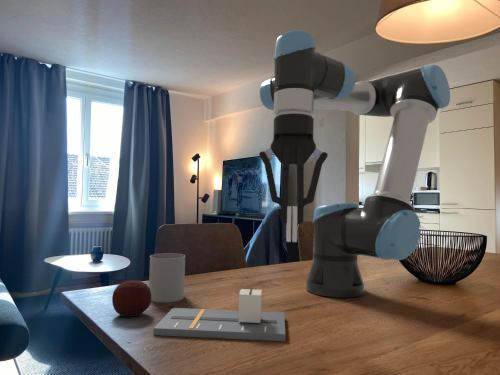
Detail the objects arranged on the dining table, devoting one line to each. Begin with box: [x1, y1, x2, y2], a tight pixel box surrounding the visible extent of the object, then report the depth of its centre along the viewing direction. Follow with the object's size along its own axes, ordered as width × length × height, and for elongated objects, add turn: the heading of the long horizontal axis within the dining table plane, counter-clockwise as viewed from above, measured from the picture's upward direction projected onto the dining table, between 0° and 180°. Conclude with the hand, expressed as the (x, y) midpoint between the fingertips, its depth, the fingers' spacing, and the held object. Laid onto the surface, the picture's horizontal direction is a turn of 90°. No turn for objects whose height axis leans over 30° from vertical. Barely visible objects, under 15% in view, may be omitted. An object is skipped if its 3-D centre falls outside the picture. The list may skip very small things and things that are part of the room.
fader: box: [238, 288, 263, 323], centre depth 69 cm, size 4×4×5 cm
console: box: [153, 307, 287, 342], centre depth 69 cm, size 23×12×1 cm, turn 86°
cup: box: [148, 252, 186, 303], centre depth 89 cm, size 8×8×10 cm
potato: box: [111, 279, 152, 317], centre depth 75 cm, size 7×8×7 cm
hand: (291, 240), depth 69 cm, fingers closed
